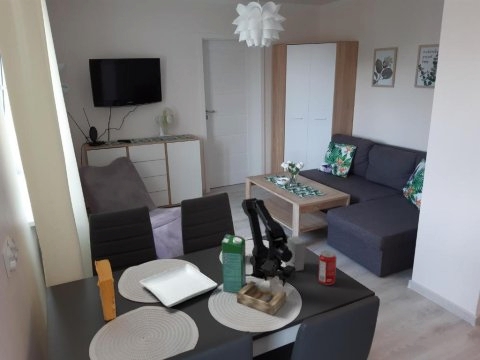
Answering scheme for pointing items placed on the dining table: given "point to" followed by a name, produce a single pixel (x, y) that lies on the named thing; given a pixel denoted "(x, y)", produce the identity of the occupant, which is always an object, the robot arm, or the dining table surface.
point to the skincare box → (296, 252)
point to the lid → (275, 286)
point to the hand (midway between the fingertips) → (274, 283)
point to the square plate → (178, 284)
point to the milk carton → (233, 263)
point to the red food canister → (327, 267)
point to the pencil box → (261, 298)
